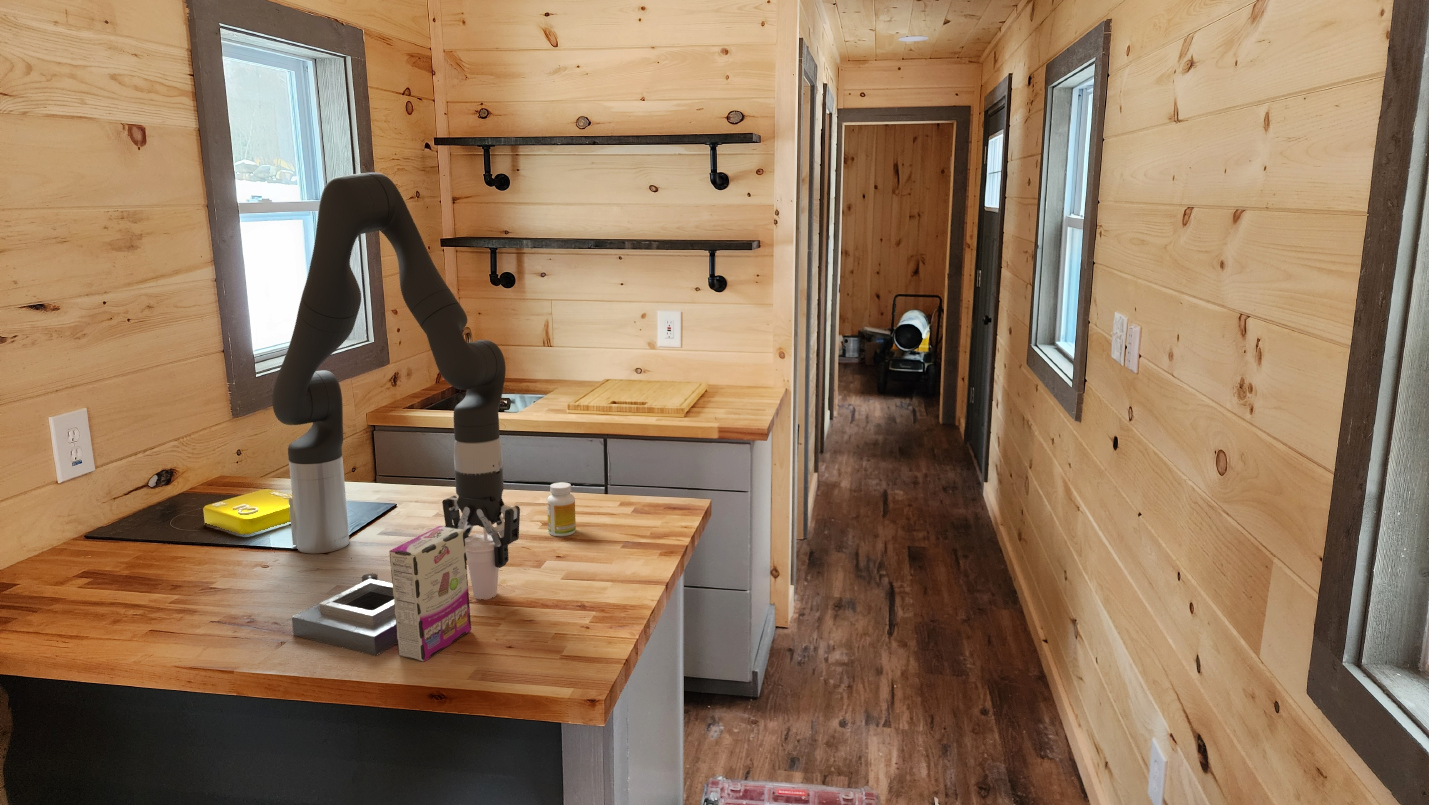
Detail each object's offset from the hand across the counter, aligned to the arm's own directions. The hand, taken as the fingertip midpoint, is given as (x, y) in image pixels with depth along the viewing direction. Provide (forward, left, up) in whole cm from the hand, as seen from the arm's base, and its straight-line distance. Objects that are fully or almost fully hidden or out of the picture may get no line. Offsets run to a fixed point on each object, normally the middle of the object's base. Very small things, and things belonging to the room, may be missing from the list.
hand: (483, 562), depth 155 cm
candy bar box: (+4, -17, -6) cm, 19 cm away
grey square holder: (-9, -16, -6) cm, 19 cm away
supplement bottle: (-5, +31, -6) cm, 32 cm away
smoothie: (0, 0, -6) cm, 6 cm away
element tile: (-65, +11, -6) cm, 66 cm away
